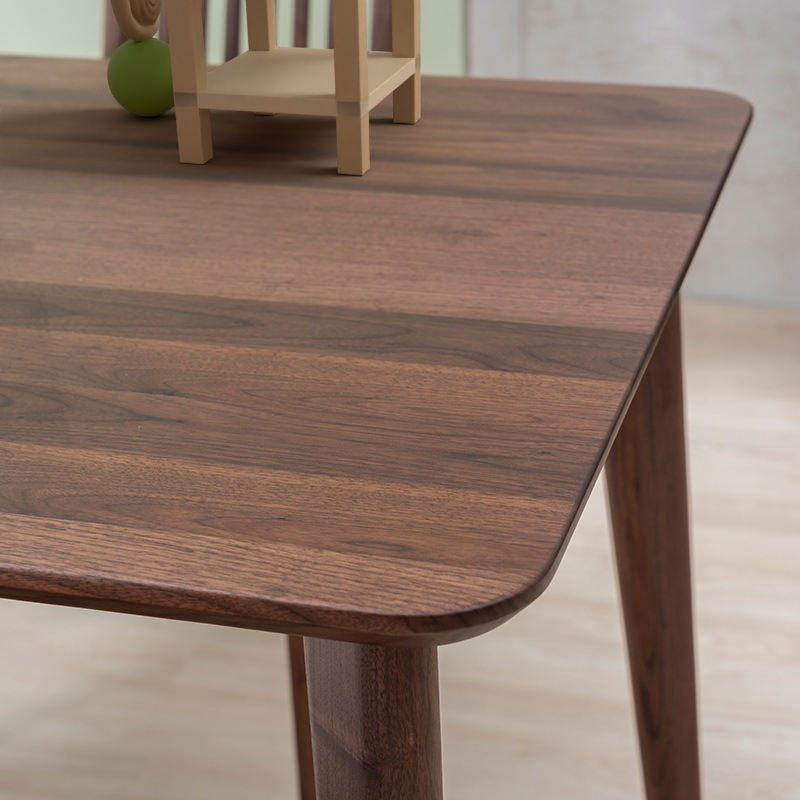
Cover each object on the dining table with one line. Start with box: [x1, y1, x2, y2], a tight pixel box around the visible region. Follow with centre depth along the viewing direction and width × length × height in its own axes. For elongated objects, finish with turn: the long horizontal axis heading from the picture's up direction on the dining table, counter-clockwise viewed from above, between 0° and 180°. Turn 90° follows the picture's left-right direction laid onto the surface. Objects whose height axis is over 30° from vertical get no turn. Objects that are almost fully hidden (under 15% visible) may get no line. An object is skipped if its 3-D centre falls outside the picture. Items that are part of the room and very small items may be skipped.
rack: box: [164, 0, 422, 176], centre depth 81 cm, size 12×14×12 cm
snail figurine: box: [106, 0, 175, 117], centre depth 86 cm, size 5×6×12 cm
